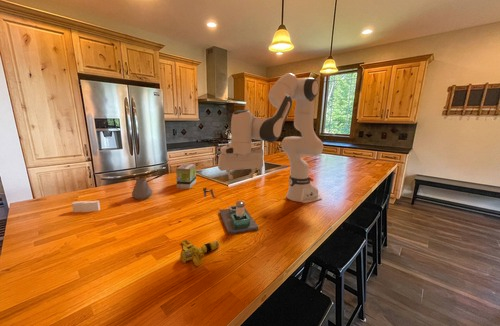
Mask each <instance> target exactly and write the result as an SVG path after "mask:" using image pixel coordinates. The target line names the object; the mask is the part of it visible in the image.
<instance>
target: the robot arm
mask: <svg viewBox="0 0 500 326" xmlns="http://www.w3.org/2000/svg"><path fill="white" fill-rule="evenodd" d="M319 85H320V84H319V81H318V80H317V79H316V78H313V77H308V78H306V77H305V78H304V77H303V78H302V77H301V78H297V75H295V74H293V73H291V72H288V73H285V74H283V75H282V76H280V77H279V78H278V79H277V80H276V81H275V83H274V84H273V85H272V87H271V88H270V89H269V91H268V95H267V96H268V97H267V98H268V101H269V103H270V104H271V106H273V107H274V108H276V109H275V112H274V114H273V116H270V117H268V118H267V117H265V118H261V117H256V116H255V115H253V113H252V112H251V110H249V109H240V110H239V109H238V110H235V111H234V112H233V113H232V116H231V121H230V122H231V123H230V133H231V138H230V143H229V144H227V145H224V146H221V147H220V153H219V154H218V160H217V161H218V163H217V168H218V169H219V171H221V172H222V171H226V174H227V175H228V180H230V181H231V180H232V181H233V179H234V176H233V174H231V171H236V170H238V171H239V170H251V172H250V173H248V178H249V179H253V178H254V174H255V172H256V169H262V168H263V167H264V149H262V147H252V140H257V141H264V142H268V143H275V142H276V141H277V140H279V138H280V137H281V135H282V131H283V127H284V125H285V122H286V120H287V118H288V115H289V114H290V111H291V109H292V106H293V101H296V104H295V107H294V116H293V117H294V118H293V126H294V128H295V130H297V131H299V132H300V134H301V136H295V135H293V136H285V137H284V138H283V139H282V140H281V144H280V145H281V149H282V152H284V153H285V154H286V155H287V157H288V159H289V164H290V174H289V178H288V179H289V180H288V184H289V186H288V190H287V193H286V195H285V196H286V198H287V199H288V200H289V201H293V202H299V203H303V204H308V203H311V202H316V201H320V200H322V199H323V197H322V196H321V194H319V190H318V188H317V187H316V186H315V185H314V184H313V183H312V182H314V180H315V179H314V178H313V177H309V171H310V165H309V163H308V162H307V161H305V160H304V158H303V157H302V156H307V157H317V156H320V155H321V154H322V153H323V151H324V143H323V141H322V140H321V139H320V138H319V137H318V136H317V133H316V132H315V130H314V114H315V100H314V99H316V97H317V95H318V93H319V91H320V90H319V89H320V86H319Z"/></svg>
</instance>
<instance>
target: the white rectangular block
mask: <svg viewBox="0 0 500 326" xmlns="http://www.w3.org/2000/svg"><path fill="white" fill-rule="evenodd" d="M71 207H72V213H81V212H82V213H89V212H99V211H100V210H101V204H100V200H91V201H87V200H82V201H80V200H79V201H73V202H72V203H71Z"/></svg>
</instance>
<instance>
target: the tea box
mask: <svg viewBox="0 0 500 326" xmlns="http://www.w3.org/2000/svg"><path fill="white" fill-rule="evenodd" d="M175 171H176V189H180V190H181V189H182V190H185V189H187V190H188V189H189V190H190V189H191V188H192V187H194V185H196V183H197V165H196V164H194V163H193V164H192V163H190V164H188V163H183V164H181V165H179V166H178V167H176V169H175Z"/></svg>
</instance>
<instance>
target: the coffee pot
mask: <svg viewBox="0 0 500 326" xmlns="http://www.w3.org/2000/svg"><path fill="white" fill-rule="evenodd" d="M165 175H167V176H169V173H168V172H167V171H166V172H164V173H162V174H159V175H156V176H154V177H153V178H150V179H148V180H147V176H145V175H140V176H136V177H135V178H134V179H135V184H134V187H133V188H132V192H131V196H132V198H135V199H136V200H141V201H142V200H146V199H148V198H150V197H151V196H152V194H153V190H152V188H151V186H150V184H149V182H151V181H153V180H156V179H158V178H161V177H162V176H165Z"/></svg>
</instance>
